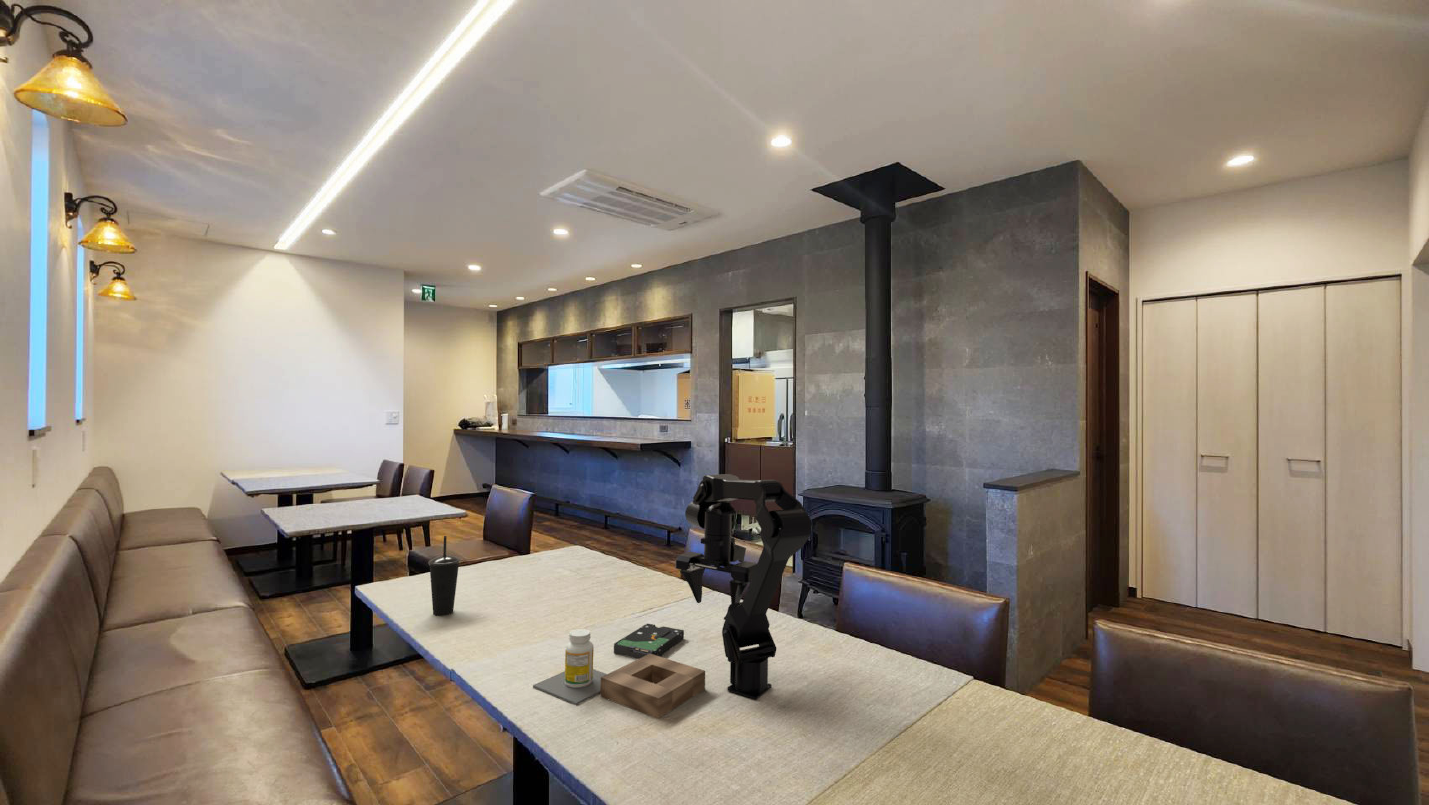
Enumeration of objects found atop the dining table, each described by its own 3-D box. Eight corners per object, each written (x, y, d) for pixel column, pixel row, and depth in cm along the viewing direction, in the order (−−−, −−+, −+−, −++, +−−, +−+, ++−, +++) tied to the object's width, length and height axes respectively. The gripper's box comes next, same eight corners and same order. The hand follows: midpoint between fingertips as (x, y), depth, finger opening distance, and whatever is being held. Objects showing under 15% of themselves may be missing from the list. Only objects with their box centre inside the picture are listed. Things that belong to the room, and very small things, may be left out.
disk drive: (646, 634, 144) (612, 655, 130) (646, 623, 144) (613, 643, 130) (684, 641, 140) (654, 664, 126) (684, 629, 140) (654, 650, 126)
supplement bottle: (581, 691, 111) (582, 639, 112) (558, 685, 114) (559, 634, 114) (598, 679, 116) (599, 630, 117) (576, 674, 118) (577, 626, 119)
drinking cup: (427, 610, 157) (429, 534, 158) (458, 606, 161) (460, 532, 161) (426, 619, 150) (428, 540, 151) (459, 615, 154) (461, 537, 154)
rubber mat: (622, 681, 116) (622, 679, 116) (576, 705, 107) (576, 703, 107) (580, 666, 123) (580, 664, 123) (532, 687, 113) (533, 685, 113)
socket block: (704, 689, 114) (705, 670, 114) (658, 719, 102) (658, 698, 102) (649, 670, 122) (649, 653, 122) (600, 696, 110) (600, 677, 110)
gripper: (774, 533, 128) (773, 605, 127) (704, 523, 138) (703, 590, 138) (747, 541, 119) (746, 619, 118) (674, 530, 129) (673, 602, 129)
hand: (716, 606), depth 126 cm, fingers open, 9 cm apart
